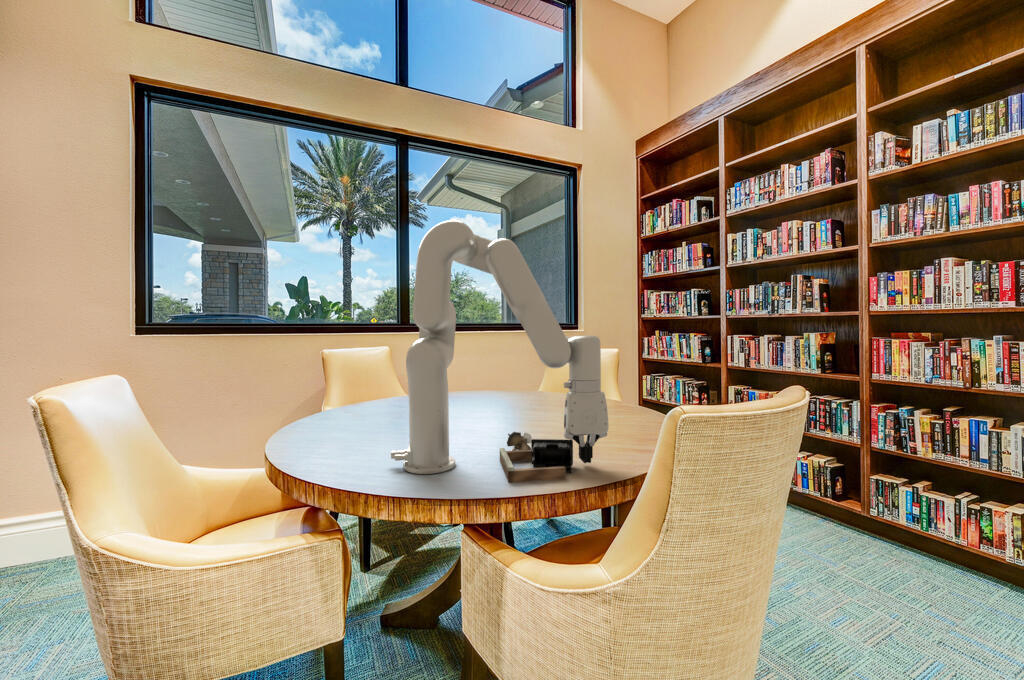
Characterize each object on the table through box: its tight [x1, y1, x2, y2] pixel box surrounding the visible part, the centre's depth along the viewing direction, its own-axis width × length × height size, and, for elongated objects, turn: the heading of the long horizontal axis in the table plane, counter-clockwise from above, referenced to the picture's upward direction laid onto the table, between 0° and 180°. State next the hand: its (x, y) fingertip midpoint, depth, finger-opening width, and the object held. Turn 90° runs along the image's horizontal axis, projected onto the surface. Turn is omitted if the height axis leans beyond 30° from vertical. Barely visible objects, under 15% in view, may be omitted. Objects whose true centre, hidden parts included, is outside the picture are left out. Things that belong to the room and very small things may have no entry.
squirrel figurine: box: [506, 431, 533, 451], centre depth 118 cm, size 8×7×9 cm
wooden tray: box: [499, 447, 567, 483], centre depth 106 cm, size 13×15×3 cm
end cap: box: [530, 438, 574, 474], centre depth 107 cm, size 10×7×7 cm
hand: (585, 461), depth 108 cm, fingers closed
